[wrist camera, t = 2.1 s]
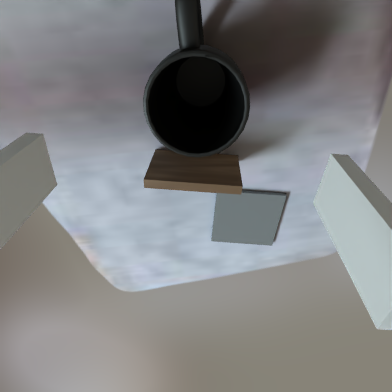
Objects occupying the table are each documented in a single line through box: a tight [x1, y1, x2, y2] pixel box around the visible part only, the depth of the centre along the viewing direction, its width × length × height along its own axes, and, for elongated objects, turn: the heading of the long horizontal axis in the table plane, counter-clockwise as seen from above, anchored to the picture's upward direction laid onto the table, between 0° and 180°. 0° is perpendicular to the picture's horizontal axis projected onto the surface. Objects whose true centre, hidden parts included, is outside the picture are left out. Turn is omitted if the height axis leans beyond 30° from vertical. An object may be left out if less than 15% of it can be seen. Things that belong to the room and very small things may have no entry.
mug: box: [143, 0, 250, 157], centre depth 24 cm, size 8×12×10 cm
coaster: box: [211, 190, 286, 246], centre depth 39 cm, size 9×9×1 cm
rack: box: [144, 150, 243, 195], centre depth 26 cm, size 19×10×7 cm, turn 177°
